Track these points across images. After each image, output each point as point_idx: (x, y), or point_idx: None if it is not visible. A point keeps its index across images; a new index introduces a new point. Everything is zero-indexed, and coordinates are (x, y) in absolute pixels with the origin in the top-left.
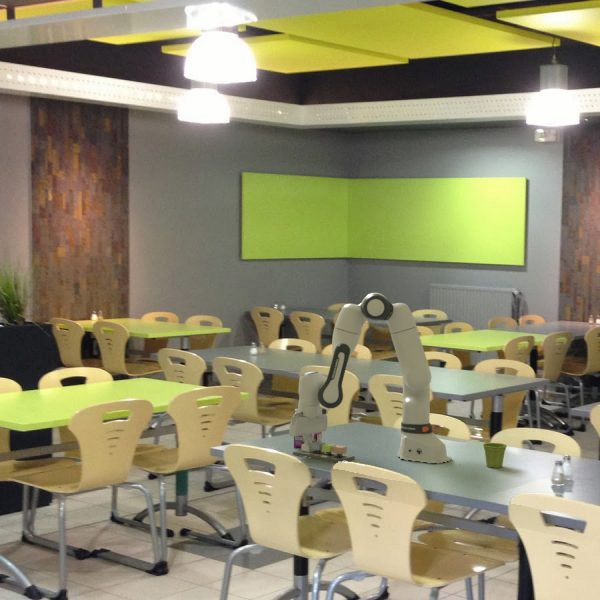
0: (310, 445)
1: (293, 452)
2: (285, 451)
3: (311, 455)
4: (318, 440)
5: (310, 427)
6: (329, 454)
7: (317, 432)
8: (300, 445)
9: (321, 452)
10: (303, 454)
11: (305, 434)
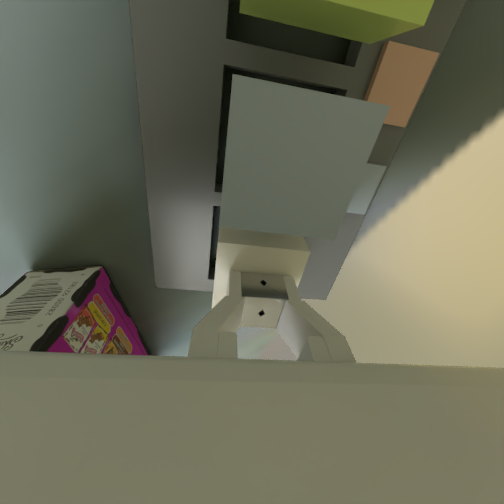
0: (280, 252)
1: (326, 294)
2: (262, 342)
3: (397, 142)
4: (35, 314)
5: (357, 499)
6: (227, 12)
7: (125, 355)
8: (139, 352)
9: (218, 145)
10: (358, 223)
11: (412, 366)
